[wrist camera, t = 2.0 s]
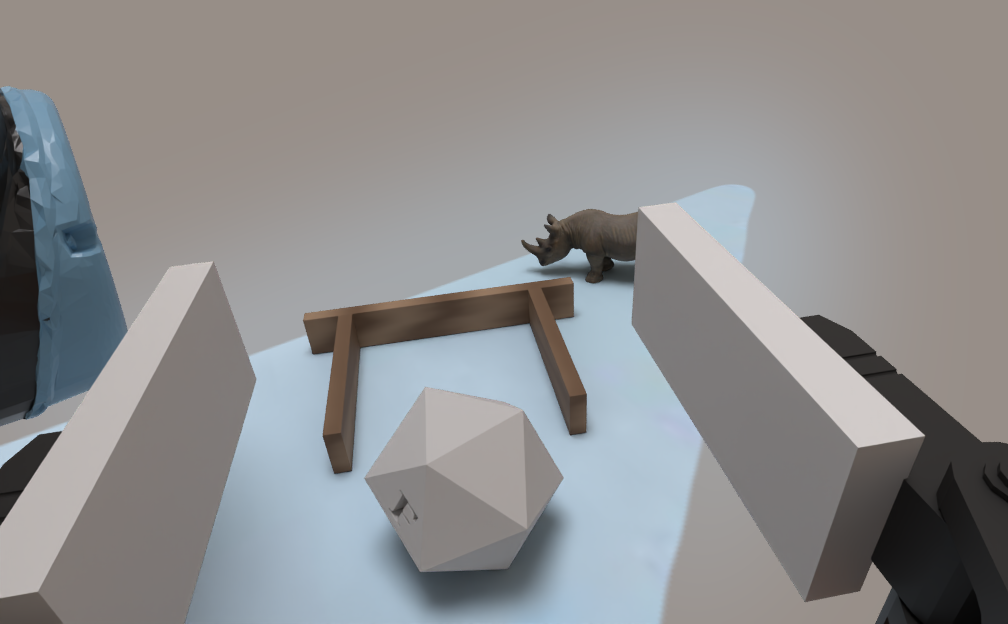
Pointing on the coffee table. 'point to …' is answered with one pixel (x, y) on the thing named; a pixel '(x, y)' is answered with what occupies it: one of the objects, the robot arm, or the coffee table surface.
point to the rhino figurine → (589, 240)
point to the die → (463, 481)
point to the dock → (437, 319)
